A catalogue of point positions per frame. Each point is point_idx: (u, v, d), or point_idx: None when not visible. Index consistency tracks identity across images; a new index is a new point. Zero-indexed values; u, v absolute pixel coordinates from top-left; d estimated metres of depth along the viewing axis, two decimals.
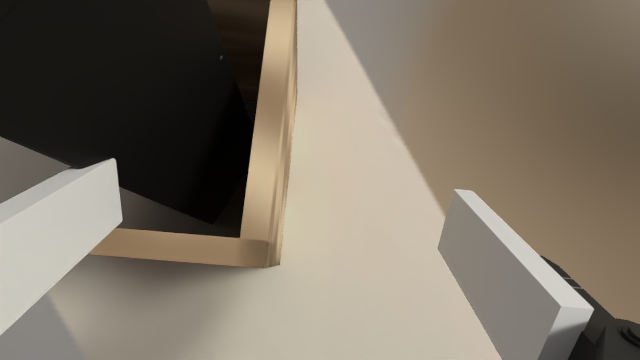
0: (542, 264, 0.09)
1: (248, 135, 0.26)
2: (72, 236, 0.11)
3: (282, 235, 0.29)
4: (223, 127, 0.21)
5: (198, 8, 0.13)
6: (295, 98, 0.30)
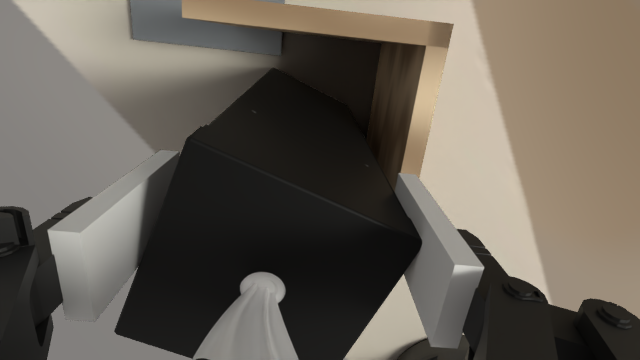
0: (453, 233, 0.10)
1: None
2: (151, 222, 0.12)
3: None
4: None
5: None
6: None
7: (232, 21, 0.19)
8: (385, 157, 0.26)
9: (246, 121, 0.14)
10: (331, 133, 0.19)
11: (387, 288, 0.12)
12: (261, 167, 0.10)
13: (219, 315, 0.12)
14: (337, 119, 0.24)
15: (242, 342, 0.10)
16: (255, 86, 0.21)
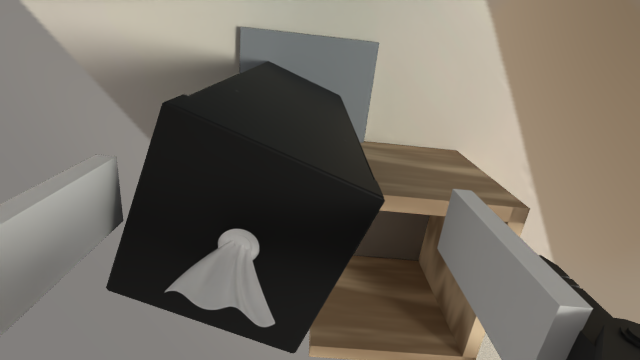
0: (541, 263, 0.09)
1: None
2: (73, 236, 0.11)
3: None
4: None
5: None
6: None
7: None
8: None
9: (226, 97, 0.15)
10: (315, 114, 0.20)
11: (353, 244, 0.13)
12: (230, 129, 0.11)
13: None
14: (325, 105, 0.25)
15: (214, 285, 0.11)
16: (244, 73, 0.22)
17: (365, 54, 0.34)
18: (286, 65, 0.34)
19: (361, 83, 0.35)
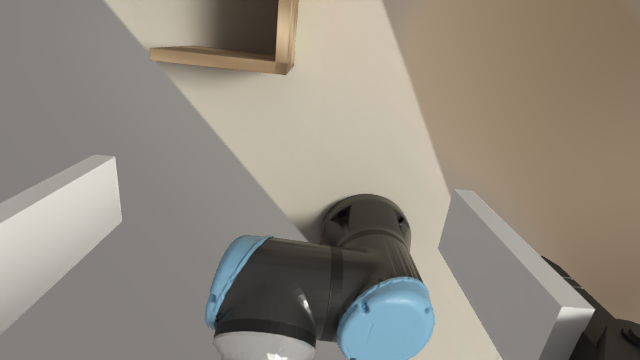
0: (543, 264, 0.09)
1: None
2: (71, 236, 0.11)
3: (294, 48, 0.50)
4: None
5: None
6: None
7: None
8: None
9: None
10: None
11: None
12: None
13: None
14: None
15: None
16: None
17: None
18: None
19: None
